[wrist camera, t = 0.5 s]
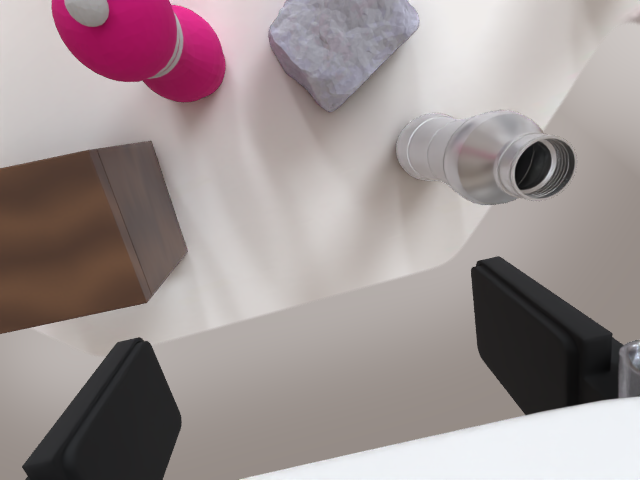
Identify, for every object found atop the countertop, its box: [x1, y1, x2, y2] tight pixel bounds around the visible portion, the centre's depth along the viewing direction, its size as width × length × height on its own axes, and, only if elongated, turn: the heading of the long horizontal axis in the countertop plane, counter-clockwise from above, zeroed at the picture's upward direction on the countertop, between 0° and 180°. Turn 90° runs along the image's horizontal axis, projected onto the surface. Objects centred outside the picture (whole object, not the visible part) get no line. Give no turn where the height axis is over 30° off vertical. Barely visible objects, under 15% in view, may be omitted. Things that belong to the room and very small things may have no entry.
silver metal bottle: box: [396, 110, 577, 205], centre depth 30 cm, size 6×7×20 cm
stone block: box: [269, 0, 419, 112], centre depth 34 cm, size 12×5×10 cm
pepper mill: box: [52, 0, 225, 102], centre depth 26 cm, size 7×7×20 cm
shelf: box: [0, 141, 188, 334], centre depth 33 cm, size 12×16×12 cm
